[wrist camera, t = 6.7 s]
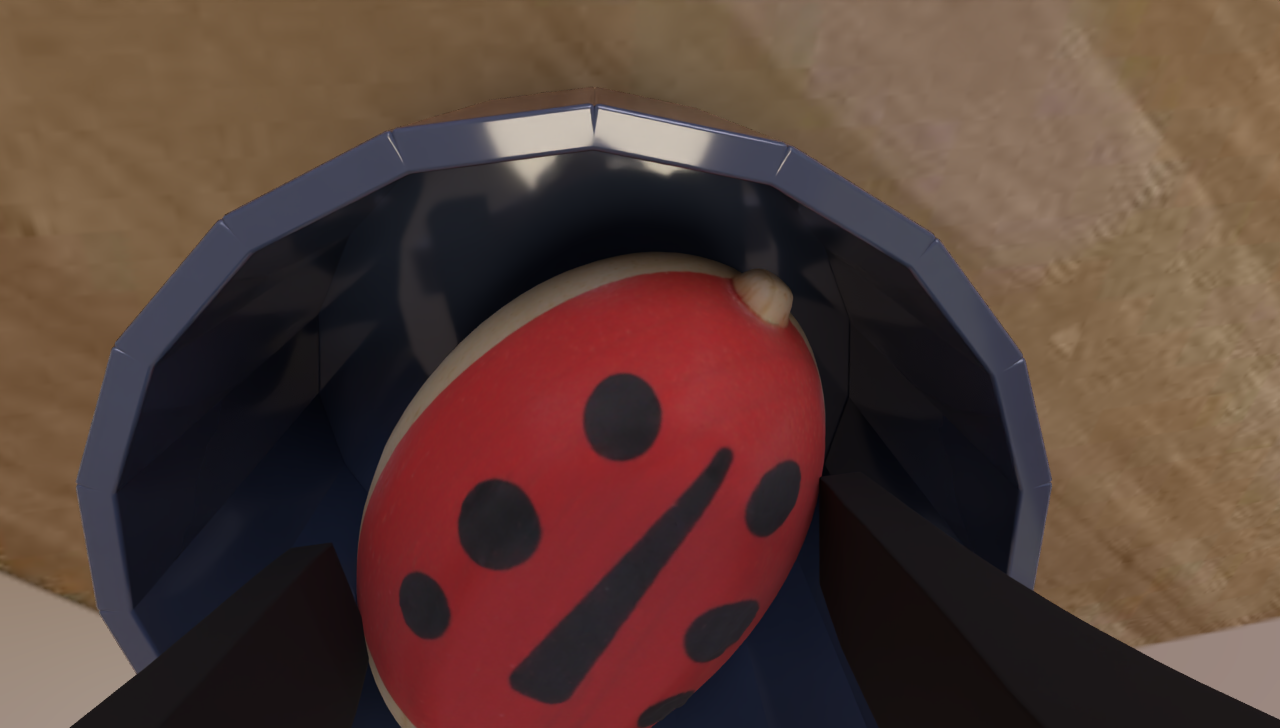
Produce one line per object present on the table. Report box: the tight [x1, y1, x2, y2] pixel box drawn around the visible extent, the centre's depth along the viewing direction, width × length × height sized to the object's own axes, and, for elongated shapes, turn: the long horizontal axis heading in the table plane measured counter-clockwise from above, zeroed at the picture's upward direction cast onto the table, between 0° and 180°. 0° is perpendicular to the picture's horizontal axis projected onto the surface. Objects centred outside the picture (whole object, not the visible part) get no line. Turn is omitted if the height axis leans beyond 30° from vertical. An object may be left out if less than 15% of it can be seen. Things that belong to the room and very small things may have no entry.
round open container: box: [76, 87, 1052, 728], centre depth 12 cm, size 13×13×7 cm
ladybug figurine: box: [356, 252, 825, 728], centre depth 10 cm, size 7×10×4 cm
